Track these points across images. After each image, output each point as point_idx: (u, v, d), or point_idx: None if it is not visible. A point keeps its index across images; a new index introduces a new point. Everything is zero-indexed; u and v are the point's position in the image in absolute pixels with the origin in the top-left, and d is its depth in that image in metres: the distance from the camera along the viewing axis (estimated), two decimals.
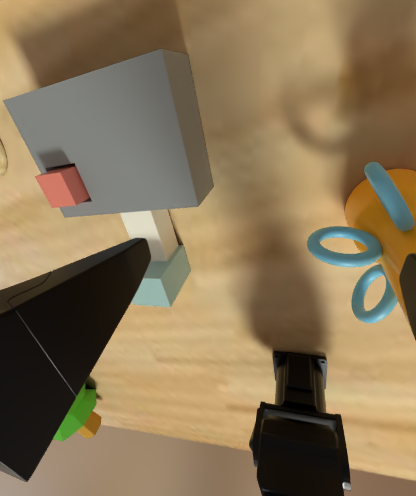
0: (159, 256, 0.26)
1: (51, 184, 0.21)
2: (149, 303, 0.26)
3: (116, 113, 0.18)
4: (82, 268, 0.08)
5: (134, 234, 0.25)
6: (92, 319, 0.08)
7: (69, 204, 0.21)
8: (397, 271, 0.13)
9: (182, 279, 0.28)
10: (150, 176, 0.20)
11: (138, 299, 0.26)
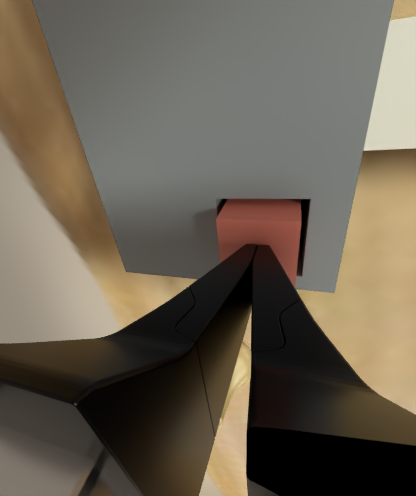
0: None
1: None
2: None
3: (113, 25, 0.08)
4: (224, 283, 0.06)
5: None
6: (231, 343, 0.07)
7: (295, 240, 0.08)
8: None
9: None
10: None
11: None
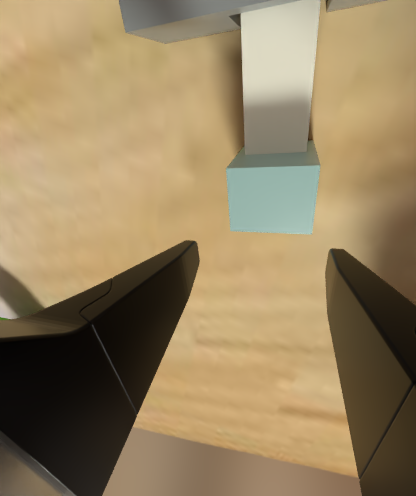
0: (292, 141, 0.14)
1: None
2: (266, 227, 0.14)
3: None
4: (144, 274, 0.07)
5: (256, 88, 0.13)
6: (153, 330, 0.07)
7: None
8: None
9: None
10: None
11: (245, 219, 0.14)
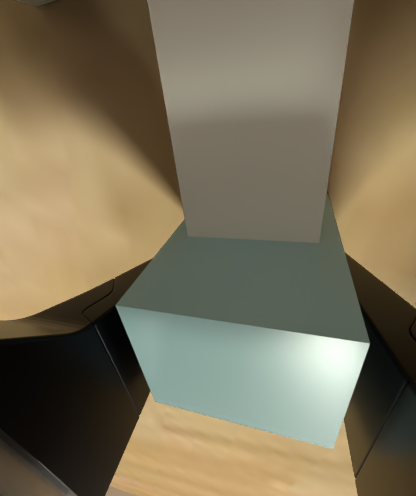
0: (288, 219, 0.06)
1: None
2: (228, 415, 0.06)
3: None
4: None
5: (196, 100, 0.05)
6: None
7: None
8: None
9: None
10: None
11: (180, 393, 0.06)
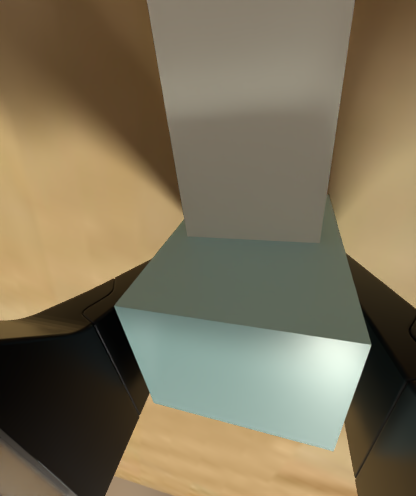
0: (288, 219, 0.06)
1: None
2: (228, 416, 0.06)
3: None
4: None
5: (196, 99, 0.05)
6: None
7: None
8: None
9: None
10: None
11: (179, 394, 0.06)
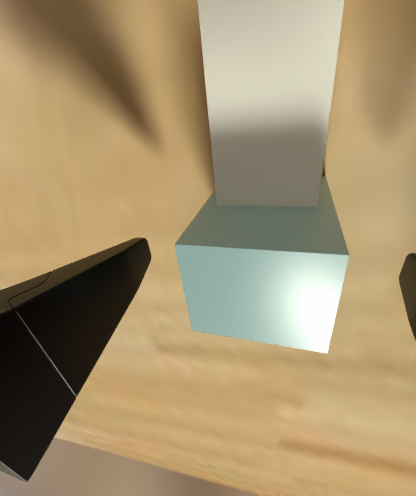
0: (294, 188, 0.08)
1: None
2: (250, 334, 0.08)
3: None
4: (82, 268, 0.08)
5: (230, 100, 0.07)
6: (92, 319, 0.08)
7: None
8: None
9: None
10: None
11: (214, 318, 0.08)
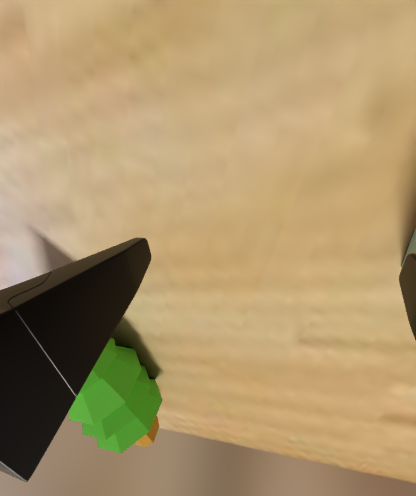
0: None
1: None
2: None
3: None
4: (82, 268, 0.08)
5: None
6: (92, 319, 0.08)
7: None
8: None
9: None
10: None
11: None
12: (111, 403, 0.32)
